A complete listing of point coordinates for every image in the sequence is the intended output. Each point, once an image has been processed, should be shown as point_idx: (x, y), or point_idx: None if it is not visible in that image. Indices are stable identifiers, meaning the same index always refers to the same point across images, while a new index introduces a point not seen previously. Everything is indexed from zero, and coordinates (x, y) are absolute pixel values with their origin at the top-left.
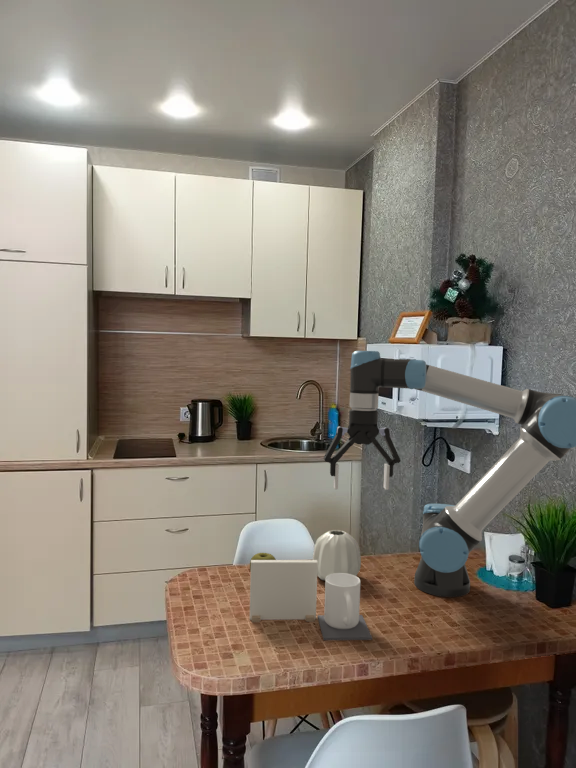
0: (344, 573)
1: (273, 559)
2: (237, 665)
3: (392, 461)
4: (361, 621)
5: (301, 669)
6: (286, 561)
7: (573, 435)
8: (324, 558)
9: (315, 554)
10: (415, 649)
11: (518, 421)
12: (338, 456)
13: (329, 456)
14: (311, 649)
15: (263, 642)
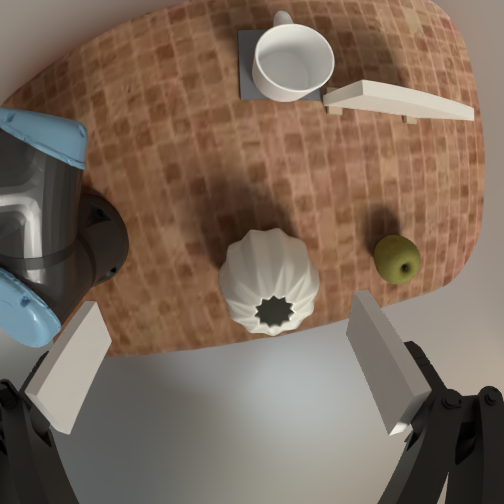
0: (287, 88)
1: (391, 257)
2: (414, 10)
3: (3, 407)
4: (246, 76)
5: None
6: (423, 97)
7: None
8: (301, 252)
9: (316, 273)
10: (176, 15)
11: None
12: (439, 449)
13: (491, 420)
14: (333, 15)
15: (395, 44)
